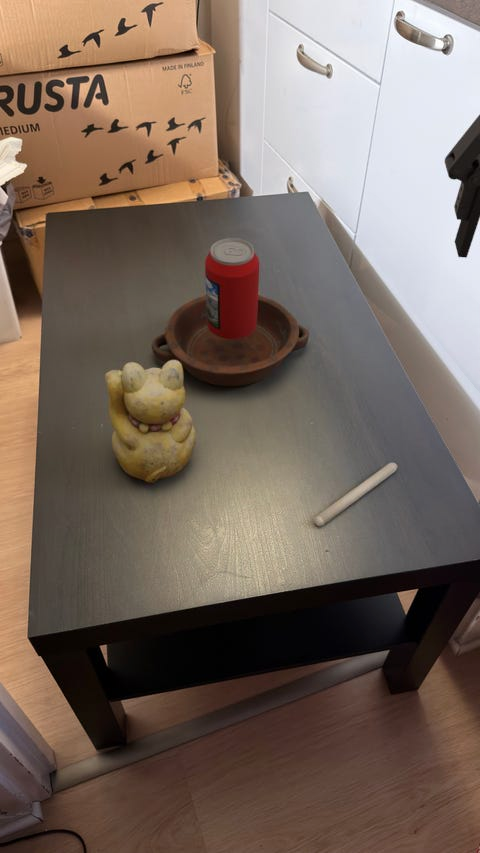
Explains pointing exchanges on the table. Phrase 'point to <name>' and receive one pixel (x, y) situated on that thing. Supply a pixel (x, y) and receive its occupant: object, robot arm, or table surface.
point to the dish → (230, 344)
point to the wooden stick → (355, 494)
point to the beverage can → (232, 288)
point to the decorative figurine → (150, 420)
